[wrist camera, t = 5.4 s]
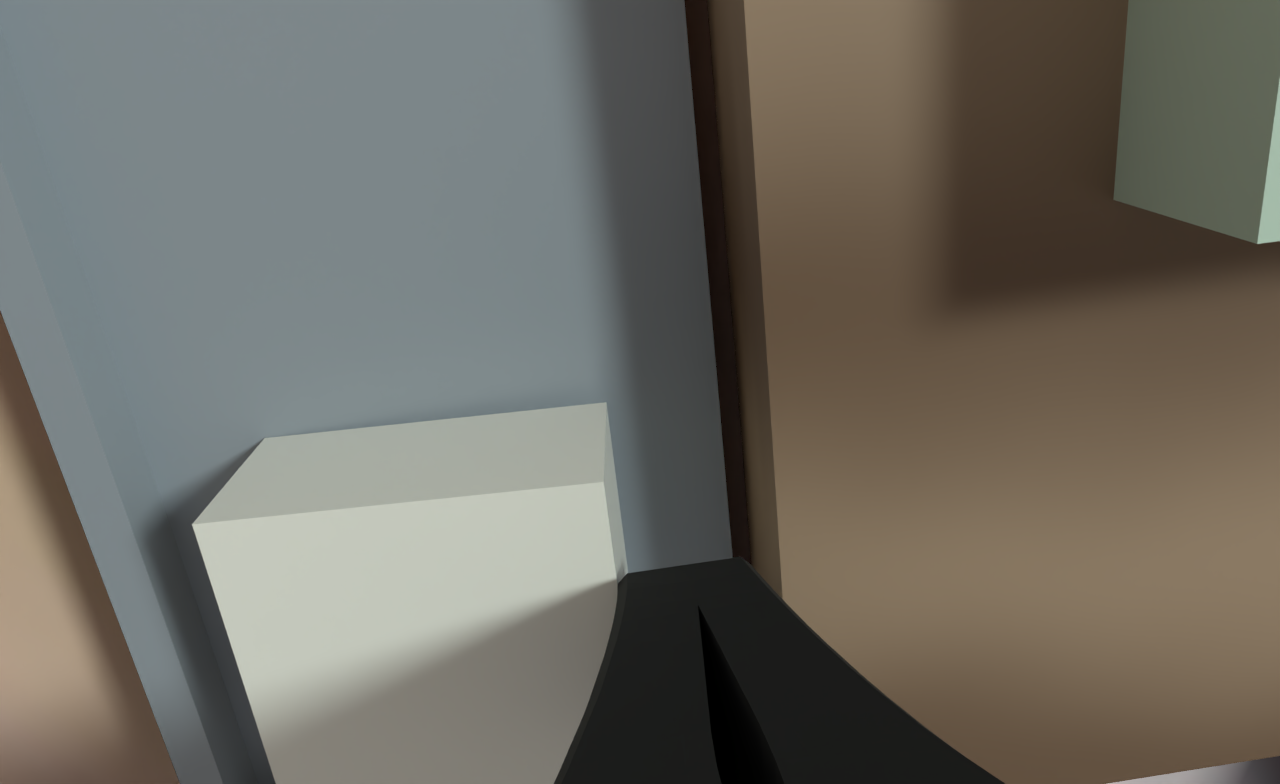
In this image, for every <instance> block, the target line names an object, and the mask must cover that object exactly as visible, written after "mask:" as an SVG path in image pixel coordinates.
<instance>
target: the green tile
mask: <svg viewBox="0 0 1280 784" xmlns="http://www.w3.org/2000/svg"><path fill="white" fill-rule="evenodd" d="M1113 200H1116V201H1119V202H1122V203H1125V204H1129V205H1132V206H1135V207H1138V208H1142V209H1145V210H1148V211H1151V212H1155V213H1158V214H1161V215H1164V216H1168V217H1171V218H1174V219H1177V220H1181V221H1184V222H1187V223H1191V224H1194V225H1197V226H1200V227H1204V228H1207V229H1210V230H1213V231H1217V232H1220V233H1223V234H1226V235H1230V236H1233V237H1236V238H1239V239H1243V240H1246V241H1249V242H1252V243H1256V244H1261V243H1268V242H1276V241H1280V0H1129V1H1128V14H1127V27H1126V41H1125V54H1124V67H1123V80H1122V93H1121V107H1120V120H1119V133H1118V146H1117V159H1116V173H1115V186H1114V199H1113Z"/></svg>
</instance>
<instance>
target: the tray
mask: <svg viewBox="0 0 1280 784" xmlns="http://www.w3.org/2000/svg"><path fill="white" fill-rule="evenodd" d="M0 311H1V314H2V316H3V319H4V322H5V324H6V327H7V329H8V332H9V335H10V337H11V340H12V343H13V345H14V348H15V351H16V353H17V356H18V358H19V361H20V364H21V366H22V369H23V372H24V374H25V377H26V379H27V382H28V385H29V387H30V390H31V393H32V395H33V398H34V401H35V403H36V406H37V408H38V411H39V414H40V416H41V419H42V422H43V424H44V427H45V429H46V432H47V435H48V437H49V440H50V443H51V445H52V448H53V451H54V453H55V456H56V458H57V461H58V464H59V466H60V469H61V472H62V474H63V477H64V479H65V482H66V485H67V487H68V490H69V493H70V495H71V498H72V501H73V503H74V506H75V508H76V511H77V514H78V516H79V519H80V522H81V524H82V527H83V529H84V532H85V535H86V537H87V540H88V543H89V545H90V548H91V551H92V553H93V556H94V558H95V561H96V564H97V566H98V569H99V572H100V574H101V577H102V579H103V582H104V585H105V587H106V590H107V593H108V595H109V598H110V601H111V603H112V606H113V608H114V611H115V614H116V616H117V619H118V622H119V624H120V627H121V629H122V632H123V635H124V637H125V640H126V643H127V645H128V648H129V651H130V653H131V656H132V658H133V661H134V664H135V666H136V669H137V672H138V674H139V677H140V679H141V682H142V685H143V687H144V690H145V693H146V695H147V698H148V700H149V703H150V706H151V708H152V711H153V714H154V716H155V719H156V722H157V724H158V727H159V729H160V732H161V735H162V737H163V740H164V743H165V745H166V748H167V750H168V753H169V756H170V758H171V761H172V764H173V766H174V769H175V772H176V774H177V777H178V779H179V782H180V784H276V783H275V780H274V777H273V774H272V771H271V767H270V764H269V761H268V758H267V755H266V752H265V749H264V746H263V743H262V740H261V737H260V733H259V730H258V727H257V724H256V721H255V718H254V715H253V712H252V709H251V706H250V702H249V699H248V696H247V693H246V690H245V687H244V684H243V681H242V678H241V675H240V672H239V668H238V665H237V662H236V659H235V656H234V653H233V650H232V647H231V644H230V641H229V638H228V634H227V631H226V628H225V625H224V622H223V619H222V616H221V613H220V610H219V607H218V603H217V600H216V597H215V594H214V591H213V588H212V585H211V582H210V579H209V576H208V573H207V569H206V566H205V563H204V560H203V557H202V554H201V551H200V548H199V545H198V542H197V538H196V535H195V532H194V529H193V526H192V524H193V523H194V521H195V520H196V519H197V518H198V517H199V515H200V514H201V513H202V512H203V511H204V509H205V508H206V507H207V506H208V505H209V504H210V502H211V501H212V500H213V499H214V498H215V496H216V495H217V494H218V493H219V492H220V490H221V489H222V488H223V487H224V486H225V485H226V483H227V482H228V481H229V480H230V479H231V477H232V476H233V475H234V474H235V473H236V471H237V470H238V469H239V468H240V467H241V466H242V464H243V463H244V462H245V461H246V460H247V458H248V457H249V456H250V455H251V454H252V452H253V451H254V450H255V449H256V448H257V446H258V445H259V444H260V443H261V442H262V441H263V439H264V438H270V437H280V436H289V435H299V434H308V433H318V432H327V431H337V430H346V429H356V428H365V427H375V426H385V425H394V424H404V423H413V422H423V421H432V420H442V419H451V418H461V417H470V416H480V415H489V414H499V413H508V412H518V411H528V410H537V409H547V408H556V407H566V406H575V405H585V404H594V403H604V402H606V403H607V411H608V419H609V427H610V435H611V442H612V450H613V458H614V466H615V474H616V482H617V489H618V497H619V505H620V513H621V521H622V528H623V536H624V544H625V552H626V560H627V567H628V573H633V572H639V571H646V570H653V569H660V568H667V567H674V566H681V565H688V564H694V563H701V562H708V561H715V560H722V559H729V558H733V556H732V544H731V533H730V521H729V510H728V498H727V487H726V475H725V463H724V452H723V440H722V429H721V417H720V406H719V394H718V383H717V371H716V360H715V348H714V337H713V325H712V314H711V302H710V290H709V279H708V267H707V256H706V244H705V233H704V221H703V210H702V198H701V187H700V175H699V164H698V152H697V141H696V129H695V117H694V106H693V94H692V83H691V71H690V60H689V48H688V37H687V25H686V14H685V2H684V0H0Z"/></svg>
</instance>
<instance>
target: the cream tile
mask: <svg viewBox="0 0 1280 784" xmlns="http://www.w3.org/2000/svg"><path fill="white" fill-rule="evenodd" d="M192 526H193V529H194V532H195V535H196V538H197V542H198V545H199V548H200V551H201V554H202V557H203V560H204V563H205V566H206V569H207V573H208V576H209V579H210V582H211V585H212V588H213V591H214V594H215V597H216V600H217V603H218V607H219V610H220V613H221V616H222V619H223V622H224V625H225V628H226V631H227V634H228V638H229V641H230V644H231V647H232V650H233V653H234V656H235V659H236V662H237V665H238V668H239V672H240V675H241V678H242V681H243V684H244V687H245V690H246V693H247V696H248V699H249V702H250V706H251V709H252V712H253V715H254V718H255V721H256V724H257V727H258V730H259V733H260V737H261V740H262V743H263V746H264V749H265V752H266V755H267V758H268V761H269V764H270V767H271V771H272V774H273V777H274V780H275V783H276V784H554V782H555V780H556V778H557V775H558V773H559V771H560V769H561V766H562V764H563V762H564V759H565V757H566V755H567V752H568V750H569V748H570V745H571V743H572V741H573V738H574V736H575V734H576V731H577V729H578V727H579V725H580V722H581V720H582V718H583V715H584V712H585V710H586V707H587V705H588V702H589V699H590V696H591V693H592V690H593V687H594V684H595V681H596V678H597V675H598V672H599V670H600V667H601V664H602V661H603V658H604V655H605V651H606V647H607V644H608V640H609V636H610V633H611V629H612V624H613V620H614V615H615V610H616V603H617V586H618V583H619V582H620V581H621V580H622V579H623V577H624V576H625V575H626V574H627V573H628V567H627V560H626V552H625V544H624V536H623V528H622V521H621V513H620V505H619V497H618V489H617V482H616V474H615V466H614V458H613V450H612V442H611V435H610V427H609V419H608V411H607V403H606V402H604V403H594V404H585V405H575V406H566V407H556V408H547V409H537V410H528V411H518V412H508V413H499V414H489V415H480V416H470V417H461V418H451V419H442V420H432V421H423V422H413V423H404V424H394V425H385V426H375V427H365V428H356V429H346V430H337V431H327V432H318V433H308V434H299V435H289V436H280V437H270V438H264V439H263V441H262V442H261V443H260V444H259V445H258V446H257V448H256V449H255V450H254V451H253V452H252V454H251V455H250V456H249V457H248V458H247V460H246V461H245V462H244V463H243V464H242V466H241V467H240V468H239V469H238V470H237V471H236V473H235V474H234V475H233V476H232V477H231V479H230V480H229V481H228V482H227V483H226V485H225V486H224V487H223V488H222V489H221V490H220V492H219V493H218V494H217V495H216V496H215V498H214V499H213V500H212V501H211V502H210V504H209V505H208V506H207V507H206V508H205V509H204V511H203V512H202V513H201V514H200V515H199V517H198V518H197V519H196V520H195V521H194V523H193V524H192Z"/></svg>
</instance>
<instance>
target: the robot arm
mask: <svg viewBox="0 0 1280 784" xmlns="http://www.w3.org/2000/svg"><path fill="white" fill-rule="evenodd" d="M554 784H1005V783H1004V782H1002V781H1001V780H999V779H998V778H996V777H995V776H993V775H992V774H990V773H989V772H987V771H986V770H984V769H983V768H981V767H980V766H978V765H977V764H975V763H974V762H972V761H971V760H969V759H968V758H966V757H965V756H964V755H962V754H961V753H960V752H958V751H957V750H955V749H954V748H953V747H951V746H950V745H948V744H947V743H946V742H944V741H943V740H942V739H941V738H939V737H938V736H937V735H935V734H934V733H933V732H931V731H930V730H929V729H927V728H926V727H925V726H923V725H922V724H921V723H920V722H918V721H917V720H916V719H915V718H913V717H912V716H911V715H910V714H908V713H907V712H906V711H905V710H903V709H902V708H901V707H900V706H898V705H897V704H896V703H895V702H893V701H892V700H891V699H890V698H888V697H887V696H886V695H885V694H884V693H882V692H881V691H880V690H879V689H878V688H877V687H875V686H874V685H873V684H872V683H871V682H869V681H868V680H867V679H866V678H865V677H864V676H862V675H861V674H860V673H859V672H858V671H857V670H856V669H855V668H854V667H853V666H851V665H850V664H849V663H848V662H847V661H846V660H845V659H844V658H843V657H842V656H840V655H839V654H838V653H837V652H836V651H835V650H834V649H833V648H832V647H831V646H829V645H828V644H827V643H826V642H825V641H824V640H823V639H822V638H821V637H820V636H819V635H818V634H817V633H816V632H815V631H814V630H812V629H811V628H810V627H809V626H808V625H807V624H806V623H805V622H804V621H803V620H802V619H801V618H800V617H799V616H798V615H797V614H796V613H795V612H794V611H793V610H792V609H791V608H790V607H789V606H788V604H787V603H786V602H785V601H784V600H783V599H782V598H781V597H780V596H779V595H778V594H777V593H776V592H775V591H774V590H773V589H772V588H771V586H770V585H769V584H768V583H767V582H766V581H765V580H764V579H763V578H762V576H761V575H760V574H759V573H758V572H757V571H756V570H755V568H754V567H753V566H752V565H751V564H749V563H748V562H747V561H746V560H744V559H743V558H742V557H736V558H729V559H722V560H715V561H708V562H701V563H694V564H688V565H681V566H674V567H667V568H660V569H653V570H646V571H639V572H633V573H627V574H626V575H625V576H624V577H623V579H622V580H621V581H620V582H619V583H618V586H617V603H616V610H615V615H614V620H613V624H612V629H611V633H610V636H609V640H608V644H607V647H606V651H605V655H604V658H603V661H602V664H601V667H600V670H599V672H598V675H597V678H596V681H595V684H594V687H593V690H592V693H591V696H590V699H589V702H588V705H587V707H586V710H585V712H584V715H583V718H582V720H581V722H580V725H579V727H578V729H577V731H576V734H575V736H574V738H573V741H572V743H571V745H570V748H569V750H568V752H567V755H566V757H565V759H564V762H563V764H562V766H561V769H560V771H559V773H558V775H557V778H556V780H555V782H554Z"/></svg>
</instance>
